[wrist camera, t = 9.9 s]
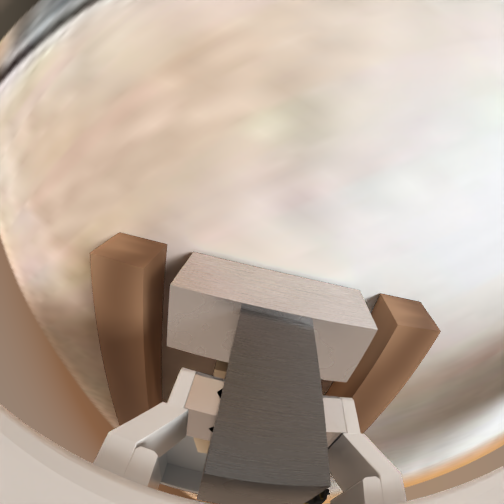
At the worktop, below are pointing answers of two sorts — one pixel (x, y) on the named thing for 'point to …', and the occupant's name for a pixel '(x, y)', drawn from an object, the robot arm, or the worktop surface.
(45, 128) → the worktop surface
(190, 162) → the worktop surface
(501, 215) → the worktop surface
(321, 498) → the tape measure
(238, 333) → the grey t-shaped block
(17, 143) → the worktop surface
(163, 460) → the tray
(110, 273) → the slot rails
